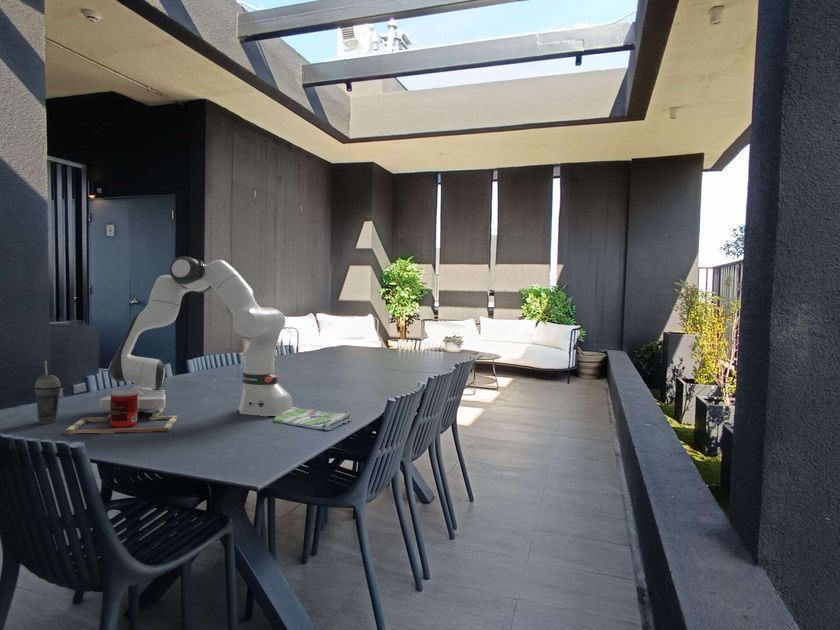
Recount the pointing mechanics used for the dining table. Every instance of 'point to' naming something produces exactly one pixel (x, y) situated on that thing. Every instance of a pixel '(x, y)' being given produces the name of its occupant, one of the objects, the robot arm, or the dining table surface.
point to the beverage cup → (47, 397)
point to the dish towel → (304, 418)
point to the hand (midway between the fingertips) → (128, 407)
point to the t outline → (153, 417)
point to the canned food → (124, 408)
